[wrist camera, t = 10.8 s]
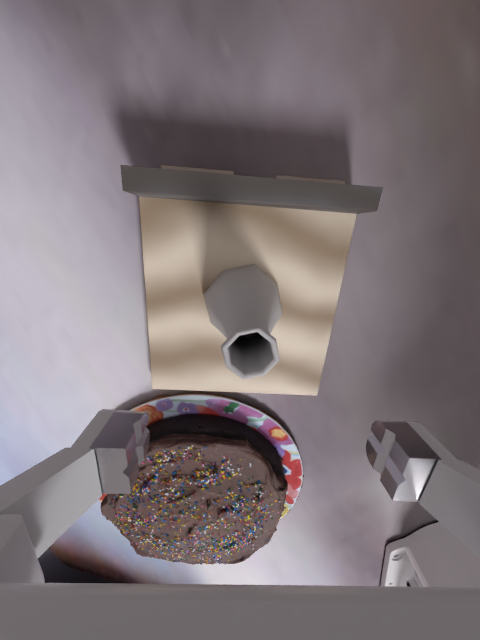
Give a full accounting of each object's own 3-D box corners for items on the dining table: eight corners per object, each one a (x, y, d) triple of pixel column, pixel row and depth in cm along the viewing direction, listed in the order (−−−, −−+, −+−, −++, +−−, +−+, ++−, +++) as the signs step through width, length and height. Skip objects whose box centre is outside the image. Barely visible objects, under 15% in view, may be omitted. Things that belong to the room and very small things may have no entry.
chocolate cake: (99, 366, 27) (59, 407, 20) (331, 410, 30) (357, 457, 24) (90, 524, 36) (61, 584, 30) (268, 545, 39) (274, 603, 33)
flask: (230, 350, 24) (228, 425, 15) (189, 290, 22) (157, 334, 13) (294, 315, 23) (336, 373, 14) (258, 248, 21) (279, 262, 11)
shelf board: (312, 387, 28) (327, 414, 24) (156, 380, 27) (142, 408, 23) (353, 192, 21) (384, 182, 17) (144, 174, 20) (120, 159, 16)
